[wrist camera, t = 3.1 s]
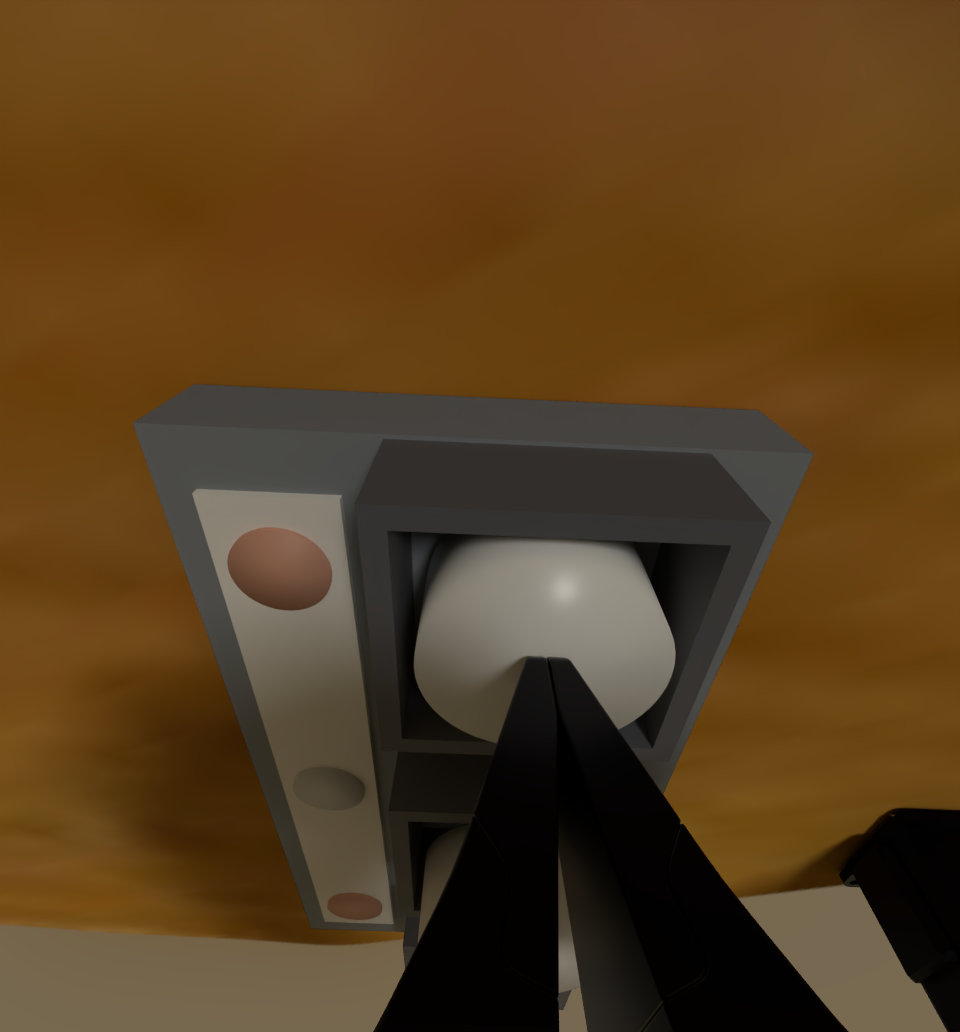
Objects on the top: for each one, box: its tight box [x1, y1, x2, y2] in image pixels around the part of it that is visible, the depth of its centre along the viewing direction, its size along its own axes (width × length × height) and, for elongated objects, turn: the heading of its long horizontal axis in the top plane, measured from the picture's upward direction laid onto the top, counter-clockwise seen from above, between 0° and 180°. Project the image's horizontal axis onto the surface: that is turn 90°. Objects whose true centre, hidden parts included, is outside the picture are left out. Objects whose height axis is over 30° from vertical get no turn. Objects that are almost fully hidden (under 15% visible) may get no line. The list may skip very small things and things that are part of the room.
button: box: [414, 533, 676, 743], centre depth 11 cm, size 5×5×2 cm
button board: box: [133, 384, 814, 1010], centre depth 17 cm, size 14×26×5 cm, turn 178°
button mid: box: [418, 824, 580, 993], centre depth 14 cm, size 5×5×2 cm
